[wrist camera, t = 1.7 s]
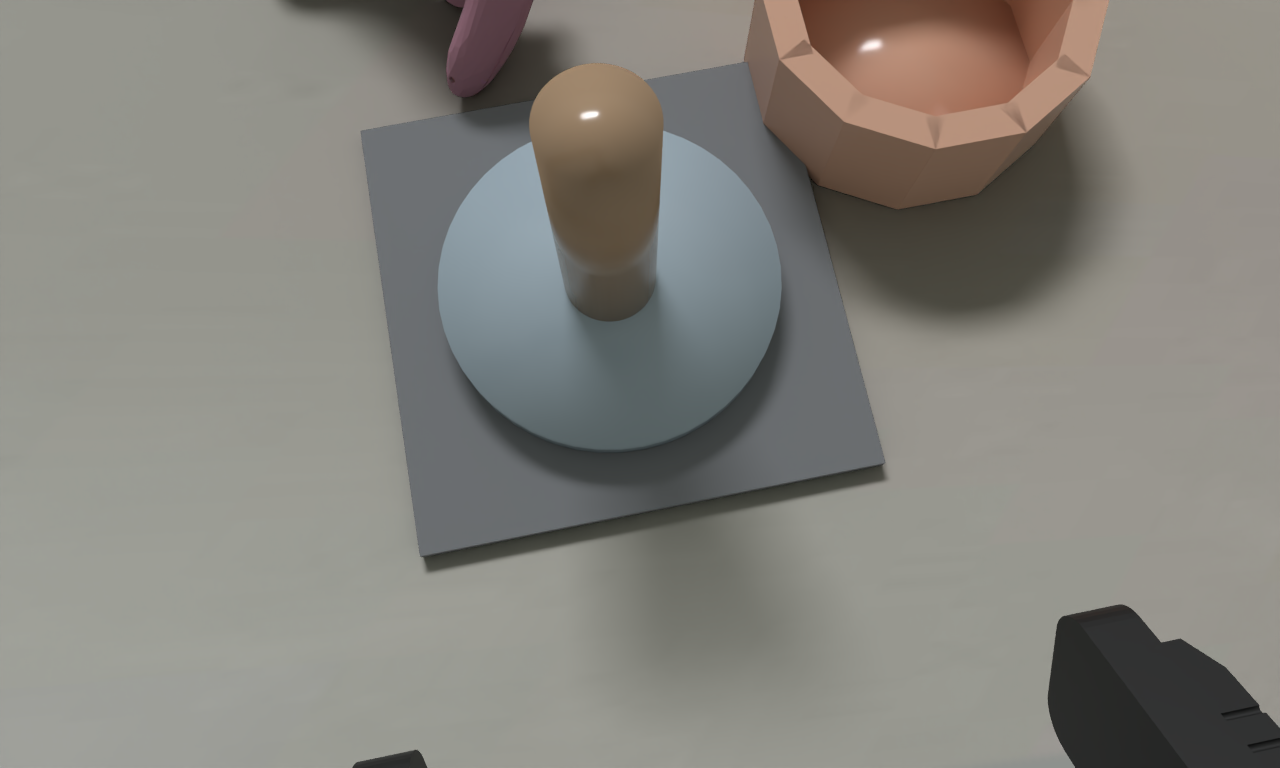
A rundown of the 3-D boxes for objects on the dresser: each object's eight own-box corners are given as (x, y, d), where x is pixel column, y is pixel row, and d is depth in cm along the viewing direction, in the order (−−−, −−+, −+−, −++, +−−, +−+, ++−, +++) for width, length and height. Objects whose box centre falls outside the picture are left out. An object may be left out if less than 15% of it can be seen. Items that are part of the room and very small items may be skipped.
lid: (472, 483, 27) (380, 410, 18) (422, 170, 30) (318, -45, 20) (812, 416, 28) (904, 308, 18) (735, 113, 30) (780, -123, 21)
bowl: (787, 230, 30) (809, 172, 26) (720, -32, 32) (730, -120, 28) (1084, 174, 30) (1149, 109, 26) (996, -80, 33) (1044, -173, 29)
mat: (423, 557, 27) (419, 556, 27) (363, 137, 31) (360, 130, 30) (881, 464, 28) (885, 462, 28) (774, 63, 31) (776, 56, 31)
